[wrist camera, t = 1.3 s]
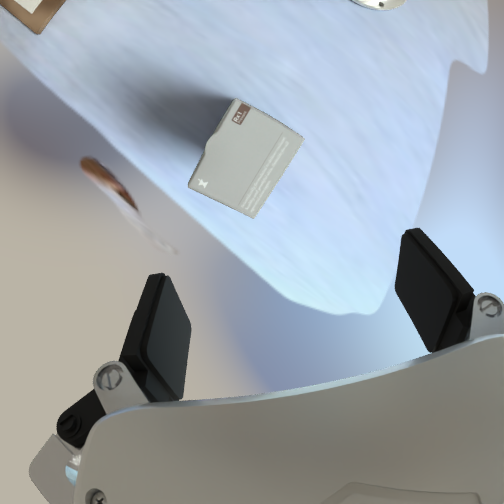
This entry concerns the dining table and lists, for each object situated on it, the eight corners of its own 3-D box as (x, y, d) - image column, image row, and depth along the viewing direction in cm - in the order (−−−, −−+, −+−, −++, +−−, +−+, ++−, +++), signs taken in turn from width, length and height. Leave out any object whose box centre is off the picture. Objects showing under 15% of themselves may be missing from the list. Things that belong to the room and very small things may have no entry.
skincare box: (250, 174, 38) (259, 229, 24) (202, 150, 35) (181, 192, 22) (283, 120, 34) (315, 144, 21) (234, 93, 32) (232, 96, 18)
